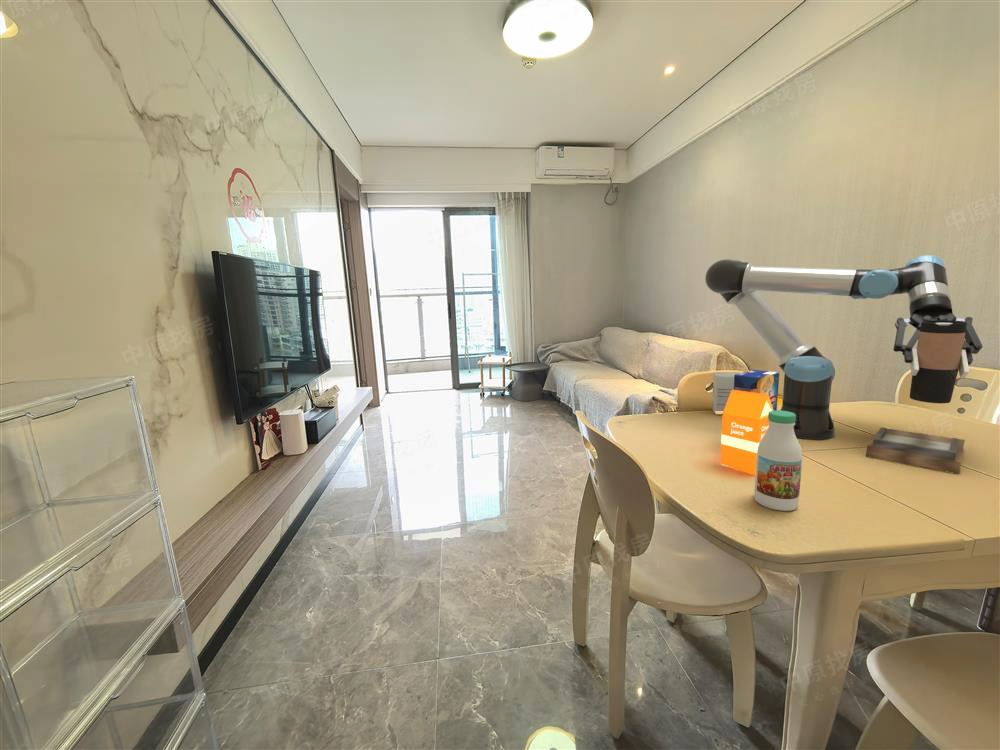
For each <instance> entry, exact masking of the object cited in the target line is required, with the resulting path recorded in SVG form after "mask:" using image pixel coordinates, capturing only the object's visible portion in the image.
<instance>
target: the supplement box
mask: <svg viewBox="0 0 1000 750" xmlns="http://www.w3.org/2000/svg"><path fill="white" fill-rule="evenodd" d="M740 373H741V372H727V371H726V372H725V371H724V372H723V371H722V372H721V371H717V372H716V371H714V372H713V384H712V385H713V388H712V410H713V412H714V411H723V412H724V409H725V407H726V404H727V401H728V399H729V396H730V394H731V391H732V390H734V375H736V374H740Z"/></svg>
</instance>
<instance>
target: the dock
mask: <svg viewBox="0 0 1000 750" xmlns="http://www.w3.org/2000/svg"><path fill="white" fill-rule="evenodd" d="M965 440H966V439H962V438H961V439H959V438H956V437H947V436H942V435H941V436H940V435H935V434H934V435H933V434H927V433H921V432H920V433H919V432H914V431H906V430H900V429H893V428H887V427H880V426H879V429H878V430H877V431H876V433H875V434H874V435H873V437H872V438H871V440H870V441H869V443H868V444H867V446H866V454H865V456H866V457H869V458H874V459H880V460H884V461H891V462H895V463H900V464H905V465H909V464H910V465H911V466H915V465H917V466H916V467H920V466H923V467H922V468H925V467H927V468H926V469H930V468H932V469H931V470H935V469H937V471H940V470H942V472H946V471H948V472H947V473H951V472H953V473H952V474H956V473H958V474H957V475H960V470H961V464H962V459H963V452H964V447H965V446H964V445H965Z"/></svg>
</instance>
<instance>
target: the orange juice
mask: <svg viewBox="0 0 1000 750" xmlns="http://www.w3.org/2000/svg"><path fill="white" fill-rule="evenodd" d="M770 411H773V408H772V405H771V402H770V398H769V395H767V394H760V393H753V392H746V391H739V390H732V391H731V394H730V396H729V399H728V401H727V404H726V407H725V409H724V412H723V415H722V419H721V421H722V423H721V426H722V427H721V436H720V437H721V438H720V439H721V440H720V463H722V464H725V465H728V466H730V467H733V468H735V469H738V470H741V471H743V472H742V473H744V472H746V473H745V474H747V473H749V474H748V475H751V476H754V475H755V473H756V460H757V450H758V446H759V443H760V441H761V439H762V438H763V436H764V435H765V433H766V431H767V429H768V427H769V422H768V413H769V412H770ZM720 463H719V464H720ZM735 469H734V470H735ZM738 470H737V471H738ZM741 471H740V472H741Z"/></svg>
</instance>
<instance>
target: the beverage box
mask: <svg viewBox="0 0 1000 750" xmlns="http://www.w3.org/2000/svg"><path fill="white" fill-rule="evenodd" d="M739 373H740V374H736V375H734V390H739V391H746V392H753V393H760V394H767V395H769V398H770V402H771V405H772V408H773V411H775V410H778V399H779V383H780V371H779V372H778V371H772V370H759V369H751V370H748V371H744V372H739Z"/></svg>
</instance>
